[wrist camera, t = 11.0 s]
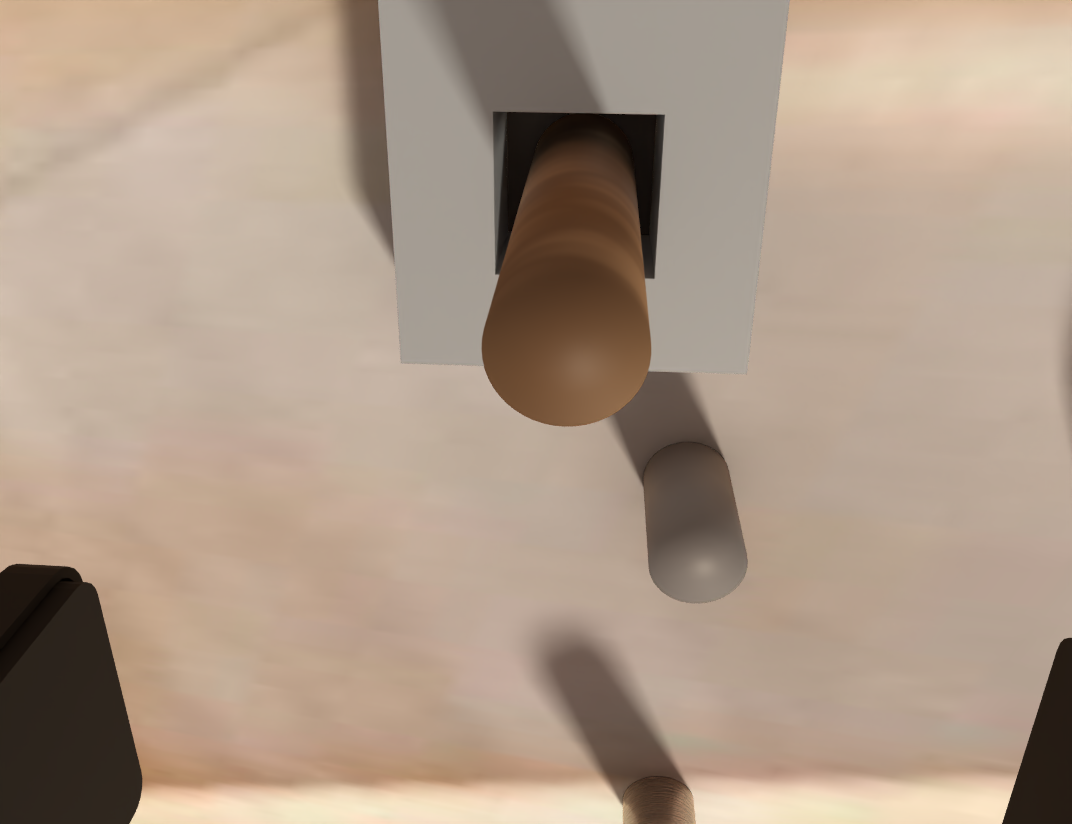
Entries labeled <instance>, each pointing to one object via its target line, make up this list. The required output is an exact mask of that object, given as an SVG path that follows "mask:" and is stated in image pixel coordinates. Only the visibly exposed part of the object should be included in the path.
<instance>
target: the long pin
mask: <svg viewBox="0 0 1072 824" xmlns="http://www.w3.org/2000/svg"><path fill="white" fill-rule="evenodd" d="M481 350H482V360H483V364H484V368H485V371H486V374H487V376H488V379H489V380H490V382H491V384H492V386H493V388H494V389H495V390H496V392H497V393H498V394H499V396H500V397H501V398H502V399H503V400H504V401H505V402H506V403H507V404H508V405H510V406H511V407H512V408H513V409H514V410H516V411H518V412H519V413H521V414H522V415H524V416H526V417H528V418H530V419H532V420H535V421H538V422H541V423H545V424H549V425H554V426H580V425H587V424H590V423H594V422H597V421H600V420H602V419H605V418H607V417H609V416H611V415H613V414H614V413H616V412H617V411H619V410H620V409H622V408H623V407H624V406H625V405H626V404H627V403H628V402H630V401H631V400H632V398H633V397H634V396H635V395H636V393H637V392H638V391H639V389H640V387H641V386H642V384H643V382H644V380H645V378H646V376H647V373H648V369H649V366H650V360H651V336H650V326H649V316H648V305H647V295H646V285H645V275H644V264H643V254H642V244H641V234H640V224H639V213H638V203H637V193H636V183H635V172H634V162H633V154H632V149H631V146H630V143H629V141H628V139H627V137H626V136H625V134H624V133H623V131H622V130H621V129H620V128H619V127H618V126H617V125H616V124H615V123H613V122H612V121H611V120H609V119H607V118H605V117H603V116H600V115H598V114H593V113H575V114H570V115H567V116H564V117H562V118H560V119H558V120H557V121H555V122H554V123H553V124H552V125H550V126H549V127H548V128H547V129H546V131H545V132H544V133H543V135H542V136H541V138H540V140H539V142H538V144H537V147H536V149H535V153H534V156H533V160H532V163H531V167H530V170H529V174H528V177H527V181H526V184H525V188H524V191H523V195H522V198H521V202H520V205H519V209H518V212H517V215H516V219H515V222H514V226H513V229H512V233H511V236H510V240H509V243H508V247H507V250H506V254H505V257H504V261H503V264H502V268H501V271H500V274H499V278H498V281H497V285H496V288H495V292H494V295H493V299H492V302H491V306H490V309H489V313H488V316H487V320H486V323H485V327H484V331H483V336H482V347H481Z"/></svg>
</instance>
